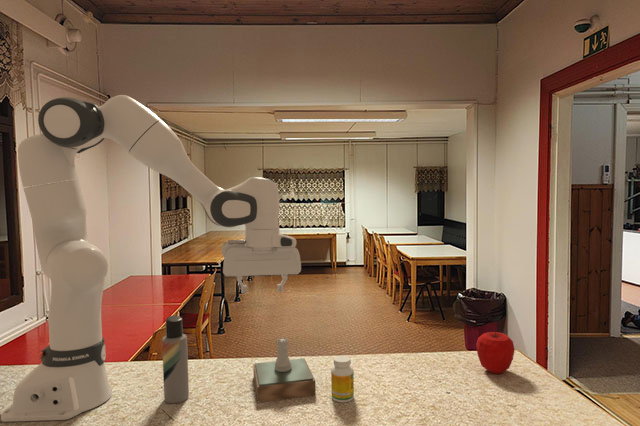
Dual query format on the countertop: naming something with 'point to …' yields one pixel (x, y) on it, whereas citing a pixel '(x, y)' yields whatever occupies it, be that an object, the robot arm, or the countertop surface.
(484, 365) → the apple
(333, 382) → the supplement bottle
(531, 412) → the countertop surface
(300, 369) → the walnut plinth
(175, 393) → the lotion bottle
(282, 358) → the rook chess piece
